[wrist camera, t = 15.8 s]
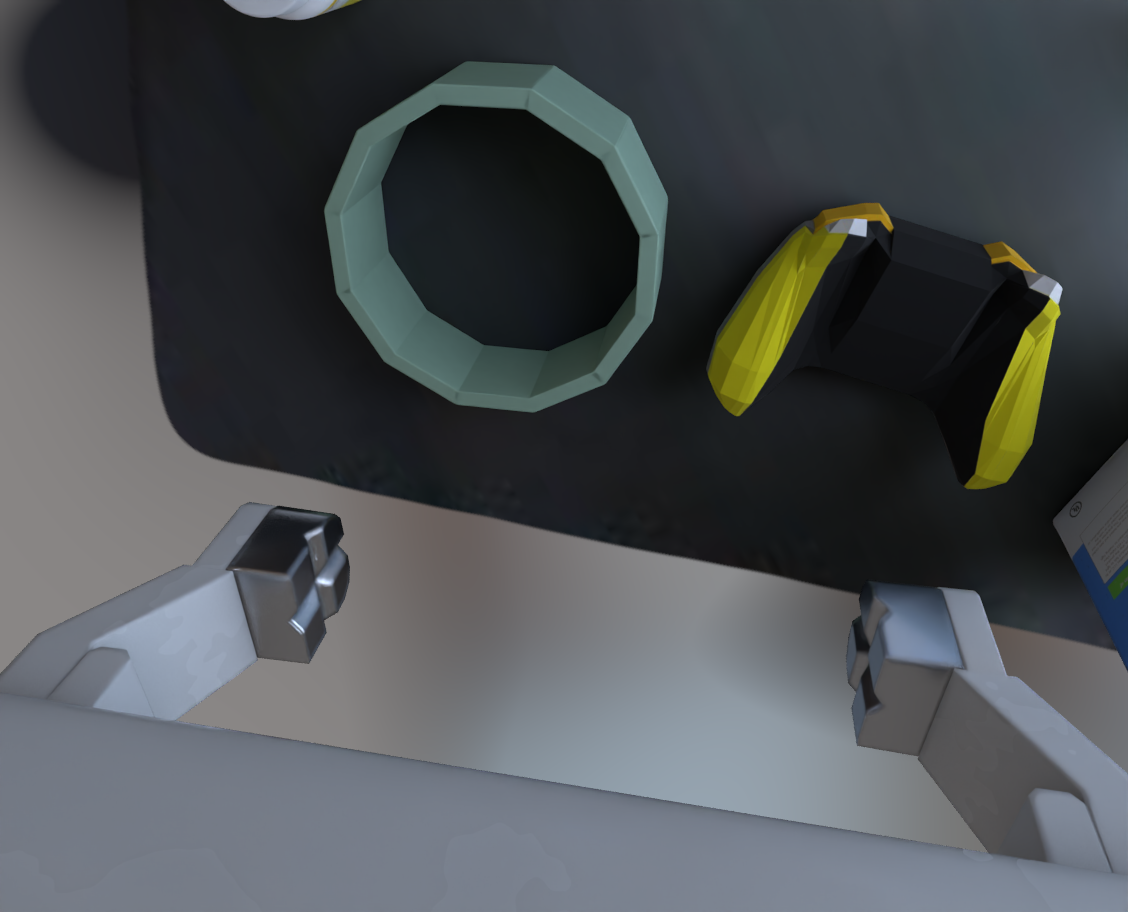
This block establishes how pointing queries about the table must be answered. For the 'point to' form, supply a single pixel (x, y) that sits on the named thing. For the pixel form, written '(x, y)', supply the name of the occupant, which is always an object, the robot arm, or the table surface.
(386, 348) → the ring
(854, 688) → the robot arm
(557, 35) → the table surface
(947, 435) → the gaming controller
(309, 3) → the supplement bottle
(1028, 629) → the table surface
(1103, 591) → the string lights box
